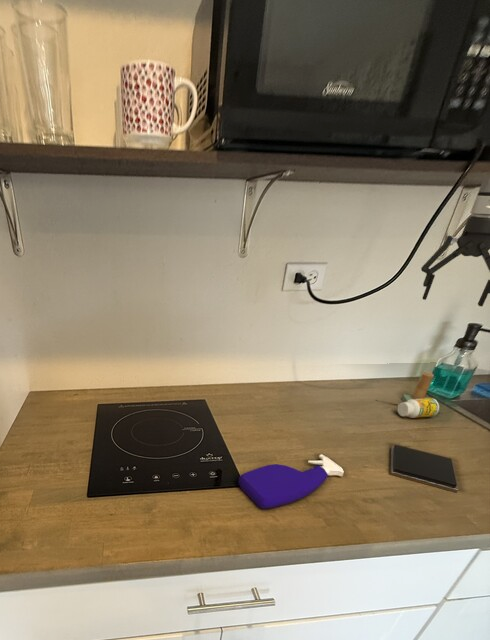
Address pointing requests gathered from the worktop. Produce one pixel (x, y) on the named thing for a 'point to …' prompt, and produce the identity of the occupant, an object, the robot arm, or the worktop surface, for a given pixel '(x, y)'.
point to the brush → (420, 387)
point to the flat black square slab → (423, 468)
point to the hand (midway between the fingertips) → (451, 302)
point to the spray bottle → (285, 482)
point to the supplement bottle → (419, 408)
